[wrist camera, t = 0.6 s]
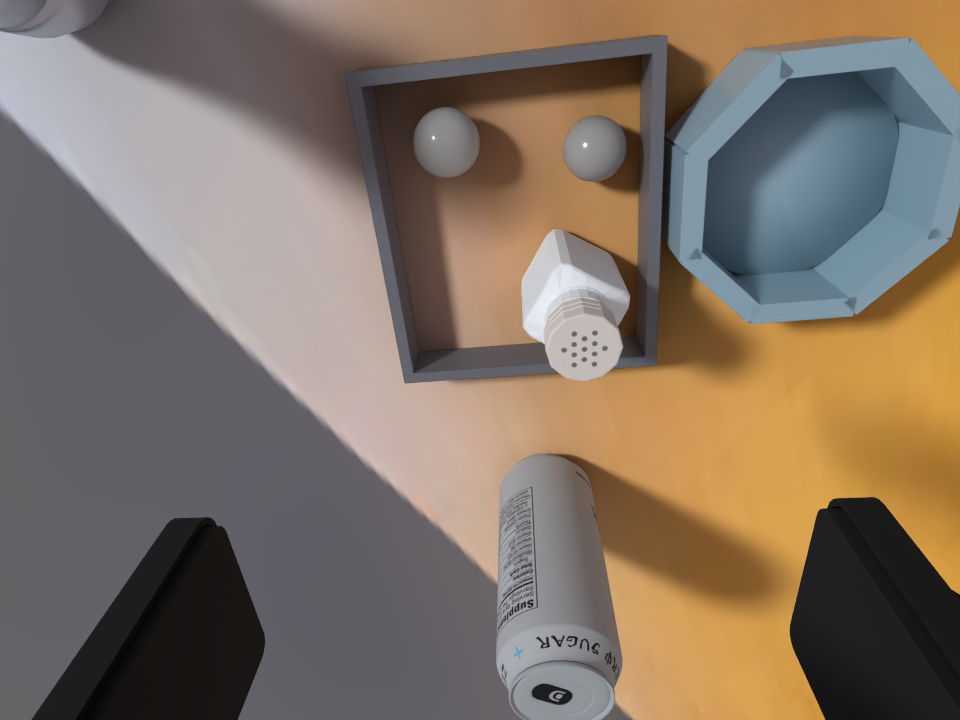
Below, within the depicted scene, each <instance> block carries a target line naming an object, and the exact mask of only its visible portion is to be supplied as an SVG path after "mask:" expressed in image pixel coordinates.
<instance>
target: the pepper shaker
mask: <svg viewBox="0 0 960 720" xmlns="http://www.w3.org/2000/svg"><path fill="white" fill-rule="evenodd" d="M521 290H522V312H523V328H524V329H525V330H526V332H527V333H528V334H529V335H530V336H531V337H533V338H535V339H536V340H538V341H540V342H542V343H543V344H545V350H546V353H547V356H548V359H549V362H550V365H551V367H552V368H553V369H554V370H556V371H557V372H558V373H559V374H561V375H562V376H563V377H564V378H567V379H572V380H578V381H583V382H585V381H588V380H592V379H596V378H600V377H603V376H604V375H605V374H606V373H608V372H609V371H610V370H611V369H612V368H613V367H614V366H616V365H617V364H618V361H619V358H620V355H621V352H622V349H623V343H622V339H621V336H620V332H619V328H618V325H619V324H620V322H621V320H622V319H623V317H624V315H625V313H626V312H627V310H628V308H629V302H630V295H629V292H628V290H627V288H626V286H625V284H624V281H623V279H622V277H621V275H620V272H619V270H618V268H617V266H616V263H615V261H614V259H613V258H612V257H611V255H610V254H609V253H608V252H606V251H604V250H602V249H600V248H598V247H596V246H594V245H592V244H590V243H588V242H586V241H584V240H582V239H580V238H578V237H576V236H574V235H572V234H570V233H568V232H566V231H564V230H560V229H553V230H552V231H551V232H550V233H548V234H547V235H546V237H545V239H544V241H543V243H542V244H541V246H540V248H539V250H538V252H537V253H536V255H535V257H534V259H533V261H532V262H531V264H530V266H529V268H528V270H527V271H526V273H525V275H524V277H523V279H522V285H521Z"/></svg>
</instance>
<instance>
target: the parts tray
mask: <svg viewBox="0 0 960 720" xmlns="http://www.w3.org/2000/svg"><path fill="white" fill-rule="evenodd" d="M667 43H668V36H665V35H650V36H642V37H633V38H625V39H616V40H608V41H600V42H591V43H583V44H574V45H566V46H558V47H549V48H541V49H532V50H524V51H515V52H507V53H499V54H490V55H482V56H473V57H465V58H456V59H448V60H440V61H431V62H423V63H414V64H406V65H398V66H389V67H381V68H372V69H364V70H357V71H353V72H350V73H346V74H345V78H346V83H347V88H348V93H349V98H350V104H351V109H352V114H353V119H354V124H355V129H356V135H357V140H358V145H359V150H360V155H361V160H362V166H363V171H364V176H365V181H366V186H367V191H368V197H369V202H370V207H371V212H372V217H373V222H374V227H375V233H376V238H377V243H378V248H379V253H380V258H381V264H382V269H383V274H384V279H385V284H386V289H387V295H388V300H389V305H390V310H391V315H392V320H393V326H394V331H395V336H396V341H397V346H398V351H399V357H400V362H401V367H402V372H403V377H404V382H405V383H417V382H431V381H445V380H459V379H473V378H487V377H501V376H515V375H529V374H543V373H557V371H556V370H554V369H553V368H552V367H551V365H550V362H549V359H548V356H547V353H546V350H545V344H543V343H529V344H516V345H503V346H489V347H476V348H463V349H450V350H437V351H424V352H419V347H418V341H417V335H416V329H415V324H414V318H413V312H412V307H411V301H410V295H409V289H408V284H407V278H406V272H405V267H404V261H403V255H402V249H401V244H400V238H399V232H398V227H397V221H396V215H395V210H394V204H393V198H392V192H391V187H390V181H389V175H388V170H387V164H386V158H385V152H384V147H383V141H382V135H381V130H380V124H379V118H378V113H377V107H376V101H375V95H374V90H373V86H374V85H383V84H392V83H400V82H409V81H417V80H426V79H435V78H443V77H452V76H461V75H469V74H478V73H486V72H495V71H504V70H512V69H521V68H529V67H538V66H547V65H555V64H564V63H572V62H581V61H590V60H598V59H607V58H615V57H624V56H633V55H641V98H640V157H639V217H638V276H637V335H634V336H621V339H622V343H623V349H622V352H621V355H620V358H619V361H618V364H617V365H616V366H614V367H613V368H627V367H641V366H655V365H656V357H657V328H658V299H659V271H660V242H661V214H662V185H663V157H664V128H665V100H666V71H667ZM613 368H612V369H613Z"/></svg>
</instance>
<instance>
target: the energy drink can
mask: <svg viewBox="0 0 960 720" xmlns="http://www.w3.org/2000/svg"><path fill="white" fill-rule="evenodd" d="M497 608H498V609H497V610H498V611H497V658H496V659H497V660H496V663H497V670H498V672H499V675H500V677H501V679H502V681H503V682H504V684H505V686H506V688H507V689H508V691H509V701H510V705H511V707H512V709H513V710H514V711H515V713H516V714H517V715H518V716H520V717H521V718H522V719H523V720H601V719H603V718H604V717H605V716H606V715H607V714H608V713H609V712H610V711H611V709H612V708H613V705H614V702H615V691H614V687H615V685H616V683H617V681H618V678H619V676H620V672H621V669H622V654H621V649H620V643H619V637H618V632H617V626H616V621H615V615H614V609H613V604H612V598H611V593H610V587H609V582H608V576H607V570H606V565H605V559H604V554H603V548H602V542H601V537H600V531H599V526H598V520H597V515H596V509H595V503H594V498H593V492H592V487H591V483H590V480H589V478H588V476H587V475H586V473H585V472H584V471H583V470H582V469H581V468H580V467H579V466H577V465H576V464H575V463H573V462H571V461H569V460H568V459H566V458H564V457H562V456H558V455H555V454H537V455H532V456H530V457H527V458H525V459H523V460H522V461H520V462H519V463H518V464H517V465H515V466H514V467H513V468H511V469H510V470H509V471H508V472H507V474H506V475H505V477H504V478H503V481H502V483H501V487H500V509H499V558H498V607H497Z"/></svg>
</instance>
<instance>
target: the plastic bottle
mask: <svg viewBox="0 0 960 720" xmlns="http://www.w3.org/2000/svg"><path fill="white" fill-rule="evenodd" d="M108 3H109V0H0V31H1V32H6V33H12V34H17V35H23V36H29V37H35V38H55V37H58V36H62V35H65V34H69V33H71V32H74V31H77V30H80V29H83V28H85V27H87V26H88V25H90V24H92V23H93V22H94V21H95V20H96V19H97V18H98V17H99V16H100V15H101V14H102V13H103V11H104V10H105V8H106V6H107V4H108Z"/></svg>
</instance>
